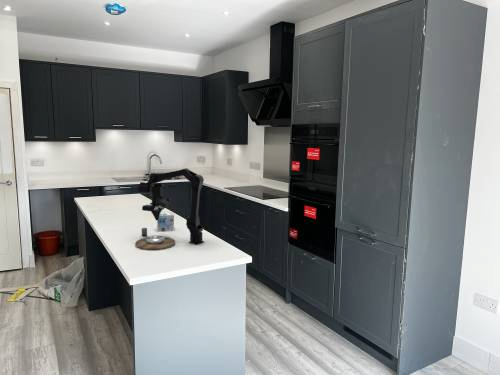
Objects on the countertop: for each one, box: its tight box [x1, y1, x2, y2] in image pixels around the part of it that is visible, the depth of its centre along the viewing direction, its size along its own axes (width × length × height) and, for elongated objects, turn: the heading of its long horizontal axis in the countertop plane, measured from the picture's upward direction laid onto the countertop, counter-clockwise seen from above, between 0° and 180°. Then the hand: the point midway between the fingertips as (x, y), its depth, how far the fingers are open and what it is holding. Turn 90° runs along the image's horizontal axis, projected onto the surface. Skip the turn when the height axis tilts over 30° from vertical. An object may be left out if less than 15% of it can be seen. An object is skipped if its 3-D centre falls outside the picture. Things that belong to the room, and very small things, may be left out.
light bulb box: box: [156, 212, 175, 232], centre depth 248 cm, size 11×7×11 cm, turn 105°
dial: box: [141, 227, 165, 244], centre depth 216 cm, size 14×10×6 cm
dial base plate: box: [134, 236, 176, 251], centre depth 216 cm, size 22×22×2 cm
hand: (156, 220), depth 225 cm, fingers closed
